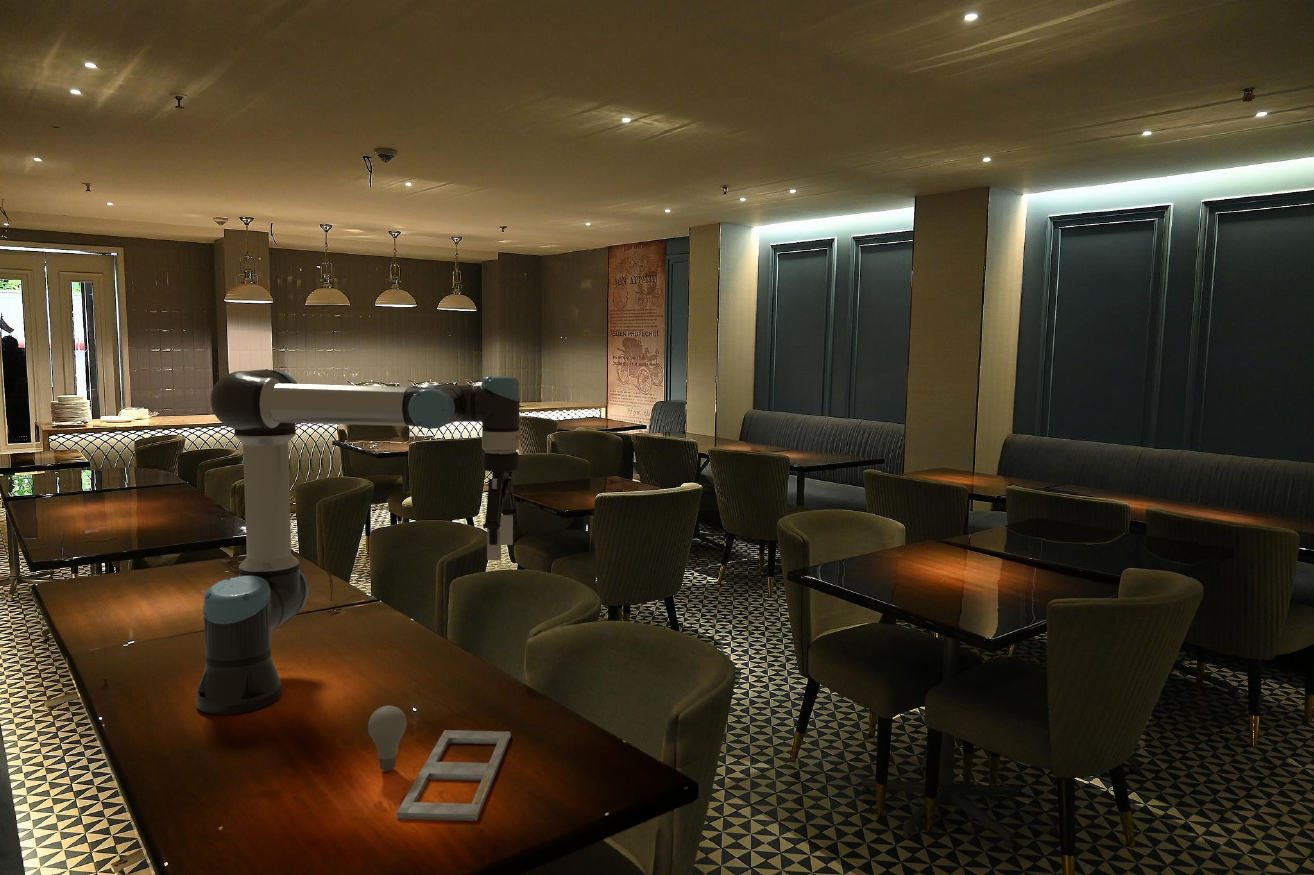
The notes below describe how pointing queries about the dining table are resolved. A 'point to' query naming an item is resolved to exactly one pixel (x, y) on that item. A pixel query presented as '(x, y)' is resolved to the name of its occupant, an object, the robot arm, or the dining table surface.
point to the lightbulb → (387, 734)
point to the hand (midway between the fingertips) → (500, 552)
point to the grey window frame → (455, 777)
